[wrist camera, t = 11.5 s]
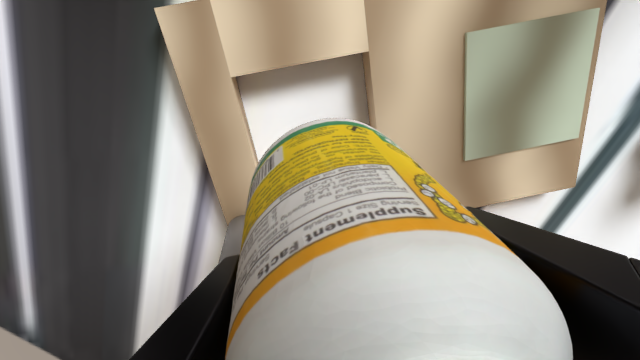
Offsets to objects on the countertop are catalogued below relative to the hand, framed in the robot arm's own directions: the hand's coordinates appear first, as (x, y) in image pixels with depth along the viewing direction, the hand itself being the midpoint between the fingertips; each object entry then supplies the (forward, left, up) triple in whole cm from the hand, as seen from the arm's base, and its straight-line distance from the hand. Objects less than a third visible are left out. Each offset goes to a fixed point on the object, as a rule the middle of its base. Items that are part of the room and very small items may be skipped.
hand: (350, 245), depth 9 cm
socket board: (-5, 0, -12) cm, 13 cm away
